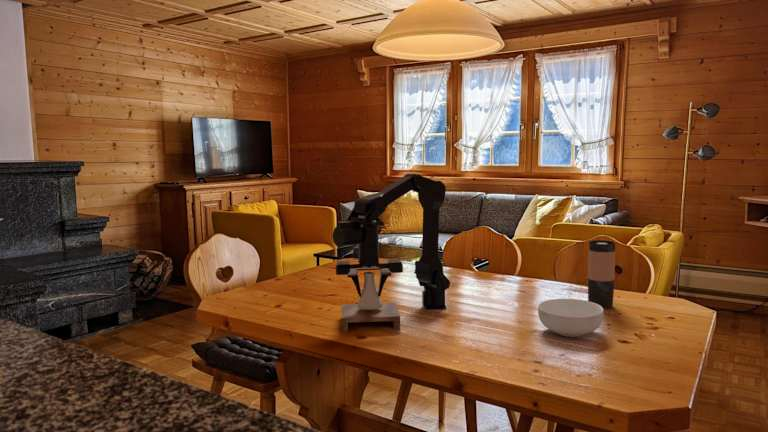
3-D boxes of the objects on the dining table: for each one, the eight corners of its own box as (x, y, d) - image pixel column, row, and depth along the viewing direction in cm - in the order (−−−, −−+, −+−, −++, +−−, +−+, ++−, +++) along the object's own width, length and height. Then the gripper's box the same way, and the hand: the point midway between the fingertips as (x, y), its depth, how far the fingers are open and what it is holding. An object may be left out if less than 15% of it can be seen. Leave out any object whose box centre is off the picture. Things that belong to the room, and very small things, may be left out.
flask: (374, 312, 158) (373, 276, 157) (352, 308, 162) (351, 274, 160) (387, 305, 164) (386, 271, 163) (365, 302, 168) (365, 269, 167)
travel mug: (617, 305, 178) (619, 241, 175) (607, 310, 172) (609, 245, 170) (593, 301, 183) (595, 239, 180) (583, 306, 177) (584, 242, 175)
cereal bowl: (531, 322, 162) (531, 298, 161) (590, 322, 162) (591, 297, 161) (546, 343, 145) (546, 316, 144) (612, 342, 145) (613, 315, 144)
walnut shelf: (395, 315, 171) (395, 302, 171) (400, 330, 157) (400, 316, 157) (342, 317, 170) (341, 304, 169) (342, 332, 156) (341, 318, 156)
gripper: (398, 236, 169) (399, 288, 171) (335, 239, 168) (337, 290, 170) (402, 243, 158) (403, 298, 160) (335, 245, 157) (336, 300, 159)
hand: (369, 296), depth 163 cm, fingers closed on flask, 5 cm apart
